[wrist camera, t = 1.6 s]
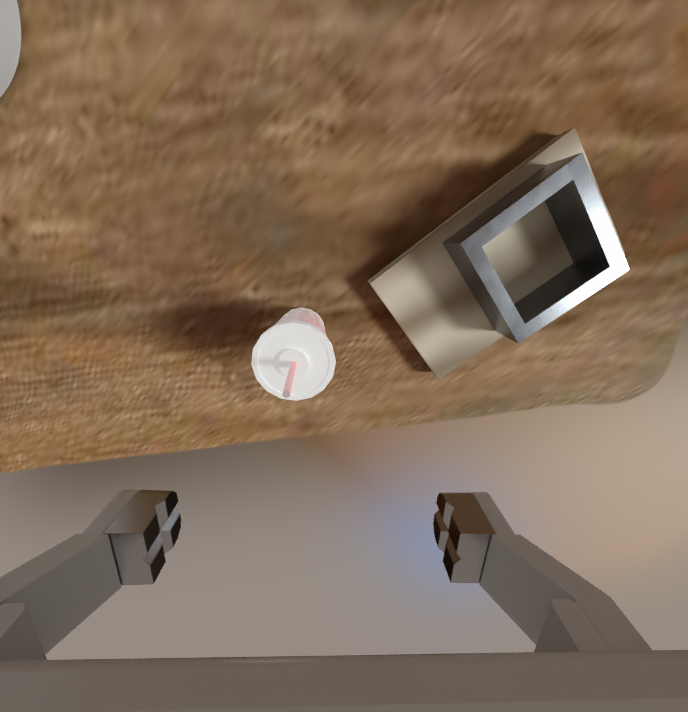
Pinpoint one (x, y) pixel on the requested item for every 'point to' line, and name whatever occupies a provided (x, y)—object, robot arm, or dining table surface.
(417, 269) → the socket board
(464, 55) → the dining table surface
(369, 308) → the dining table surface
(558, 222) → the cup collar
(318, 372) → the beverage cup
